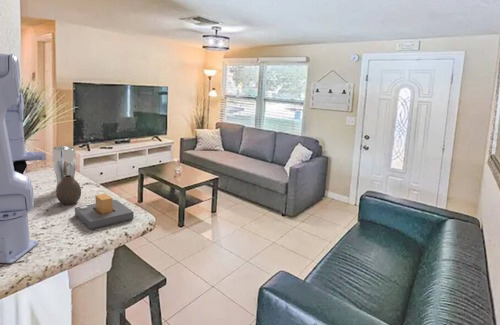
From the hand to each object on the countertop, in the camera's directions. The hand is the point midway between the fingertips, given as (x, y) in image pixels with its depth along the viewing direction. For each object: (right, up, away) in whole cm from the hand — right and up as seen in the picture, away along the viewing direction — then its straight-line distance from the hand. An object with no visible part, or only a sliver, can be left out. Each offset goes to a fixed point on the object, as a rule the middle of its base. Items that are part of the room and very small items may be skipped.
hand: (15, 189), depth 86 cm
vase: (+4, -6, +18) cm, 19 cm away
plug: (+19, -9, +9) cm, 23 cm away
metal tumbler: (-3, -3, +29) cm, 29 cm away
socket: (+19, -9, +9) cm, 23 cm away
